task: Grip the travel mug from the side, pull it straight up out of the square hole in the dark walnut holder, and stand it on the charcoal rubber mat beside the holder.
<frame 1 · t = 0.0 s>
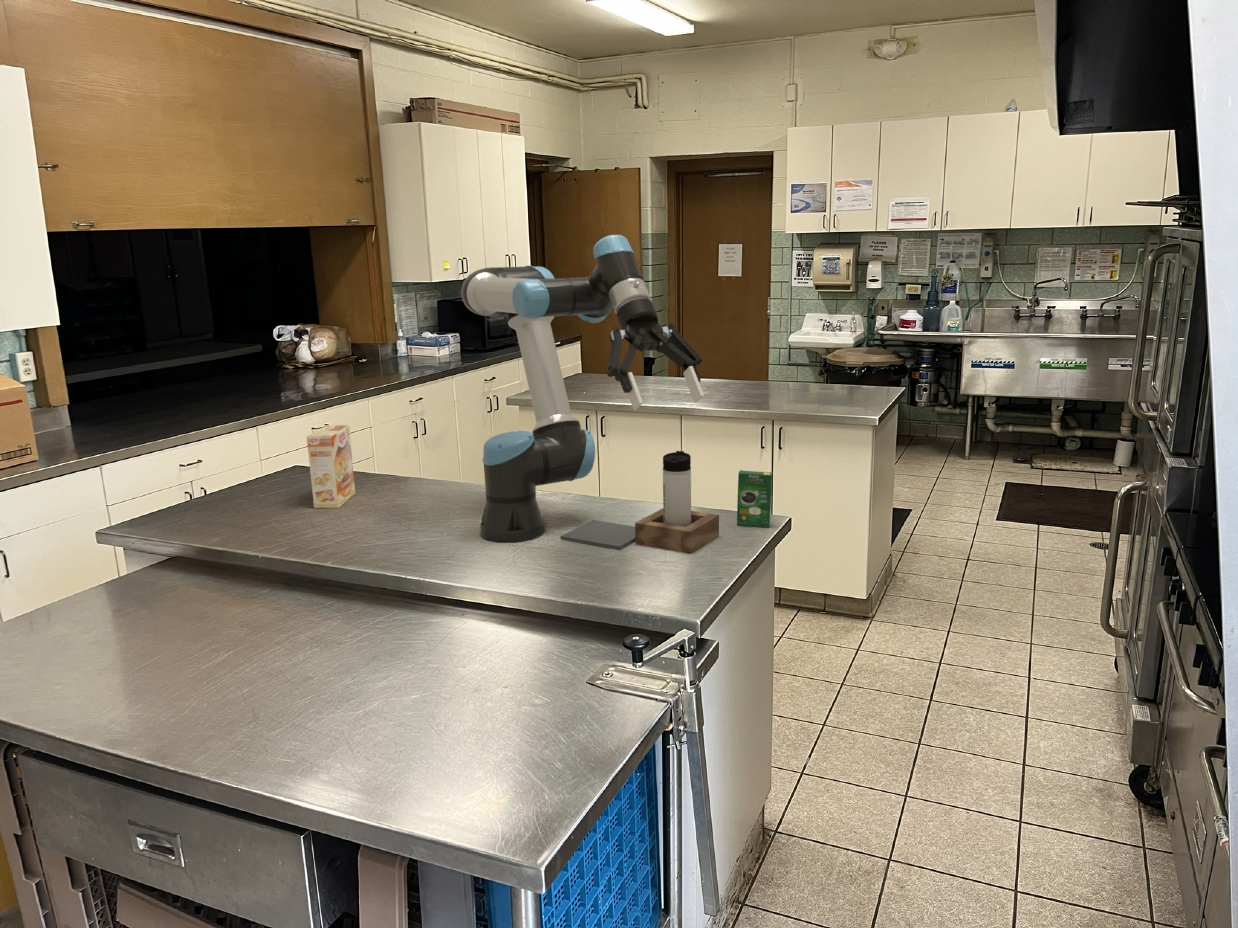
hand: (669, 403, 165), 36 cm above the counter, tool tilted 35°, fingers open, 13 cm apart
holder: (677, 539, 200), on the counter
coffee box: (754, 526, 209), on the counter
coffeecake box: (335, 501, 239), on the counter
mat: (606, 535, 204), on the counter
travel mug: (677, 540, 200), resting in holder
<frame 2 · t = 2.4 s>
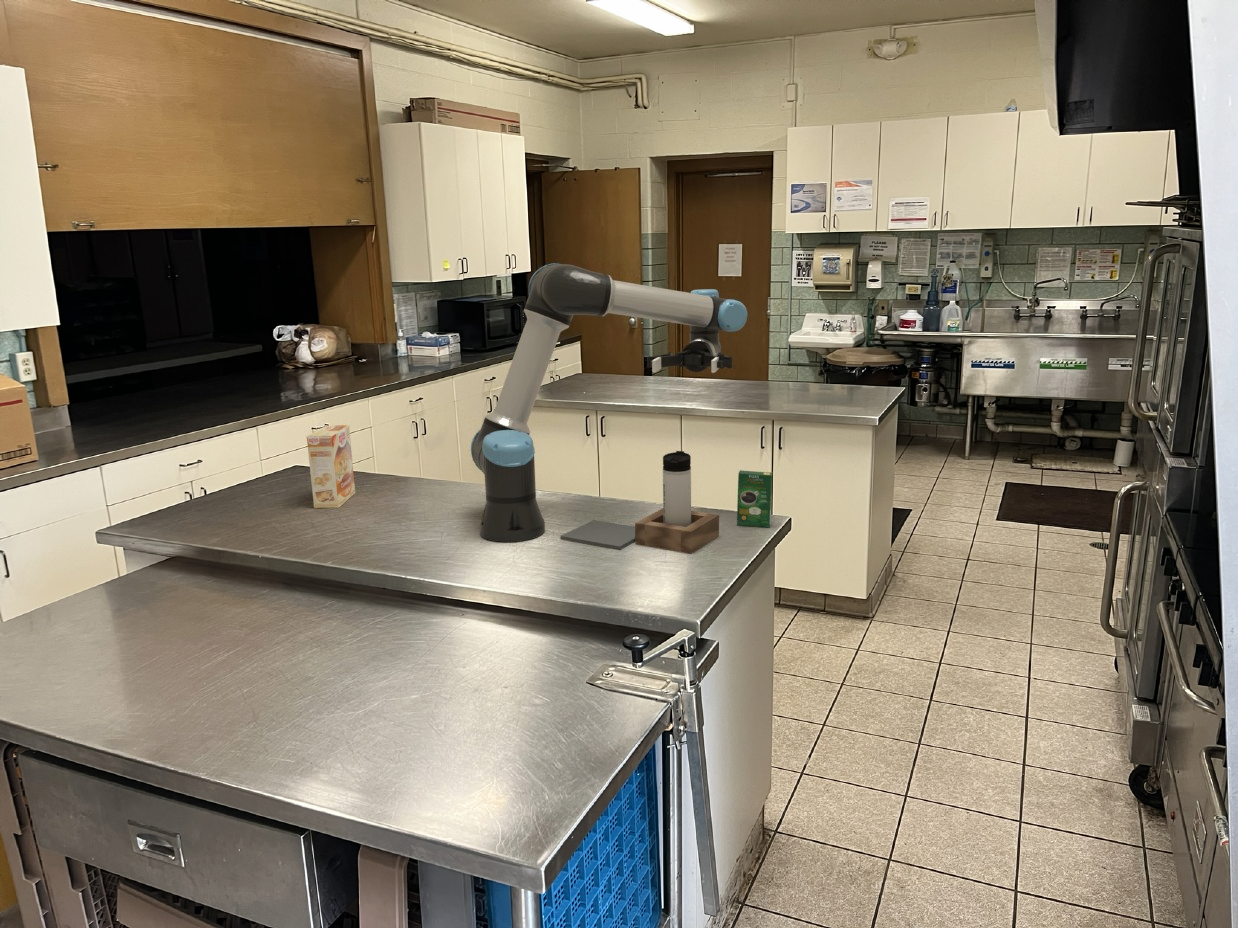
hand: (683, 366, 199), 38 cm above the counter, tool horizontal, fingers open, 13 cm apart
nothing on the counter moved.
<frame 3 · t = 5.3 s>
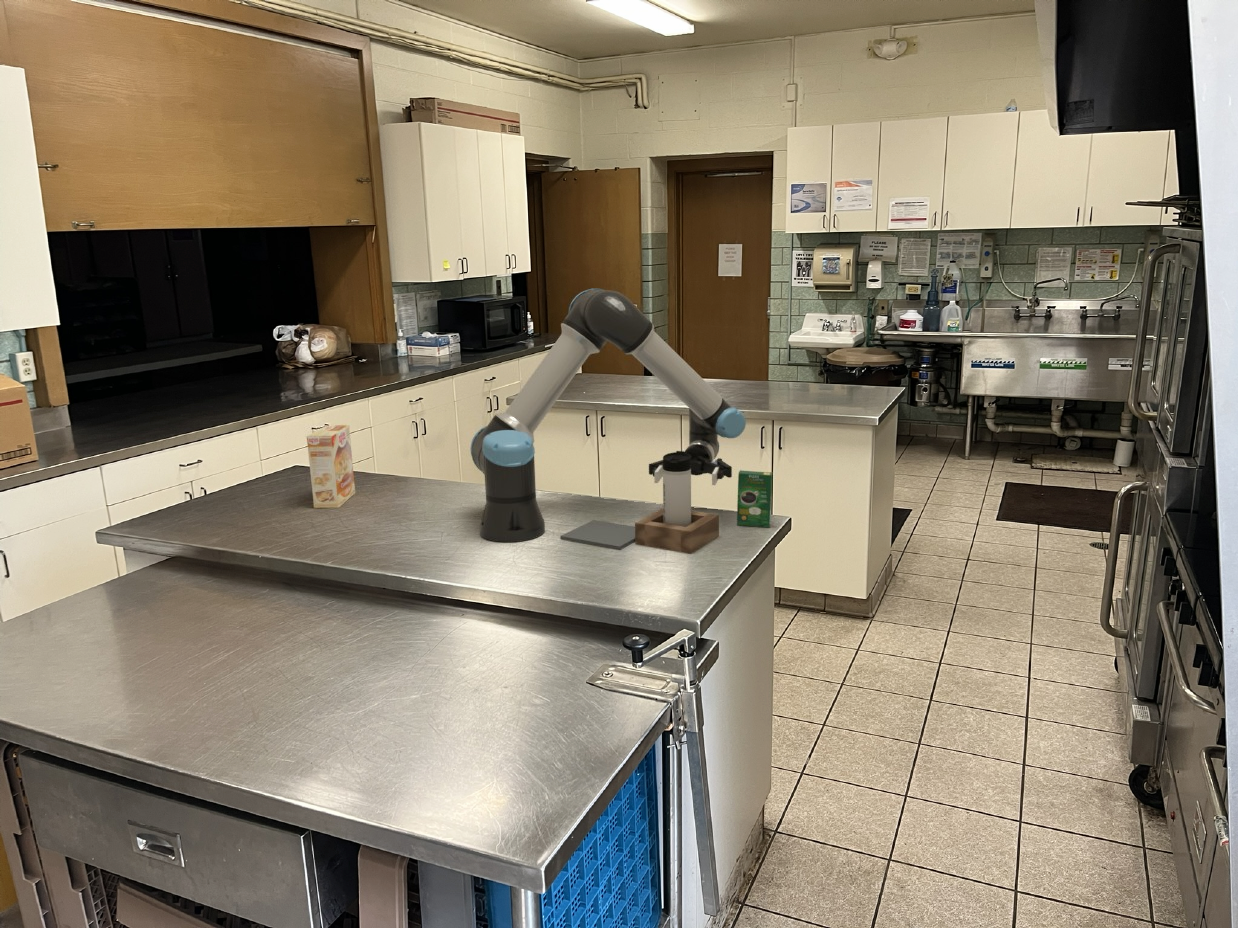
hand: (684, 478, 206), 12 cm above the counter, tool horizontal, fingers open, 13 cm apart
nothing on the counter moved.
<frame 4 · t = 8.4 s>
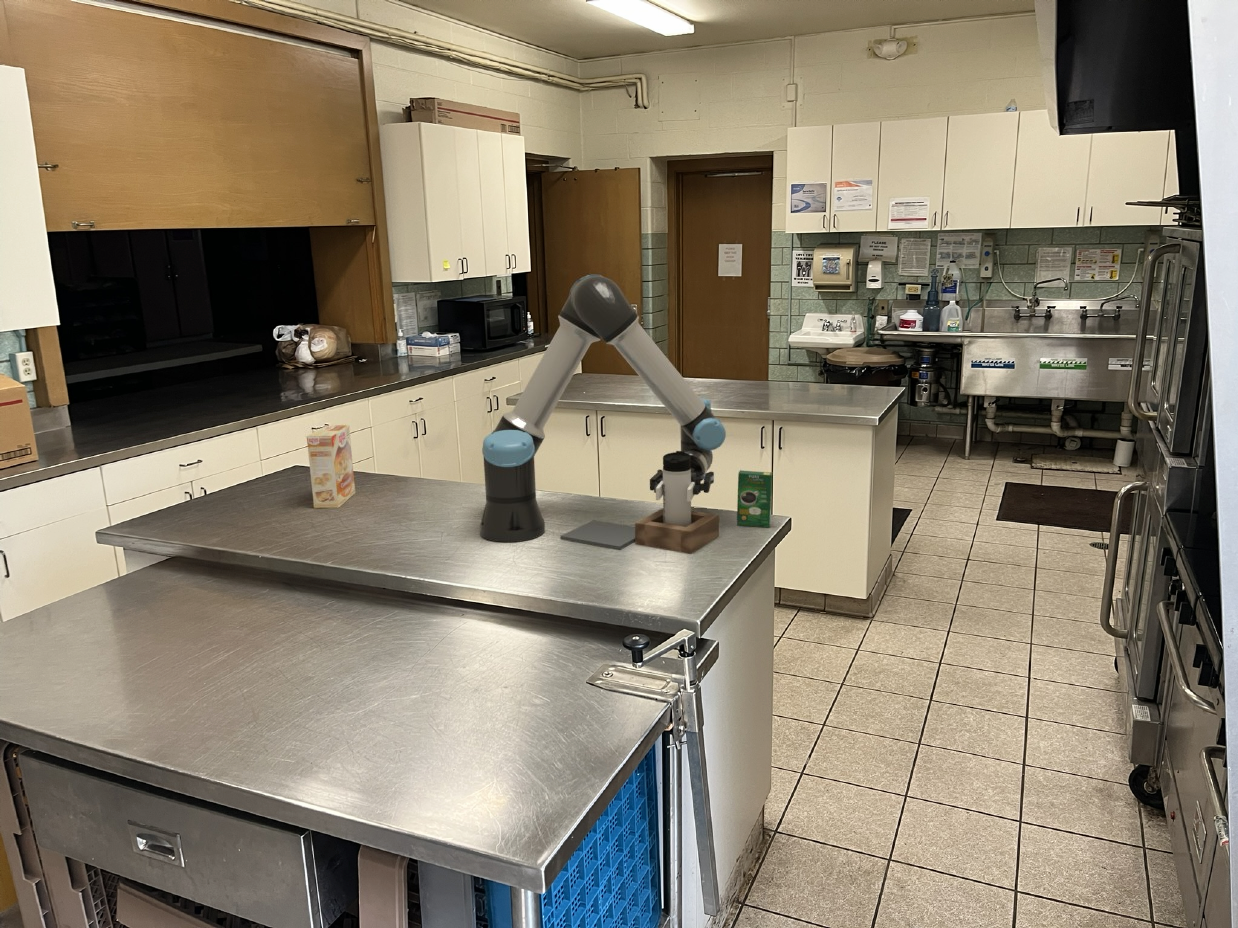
hand: (673, 494, 192), 12 cm above the counter, tool horizontal, fingers closed on travel mug, 6 cm apart
travel mug: (677, 540, 200), resting in holder, touching gripper
everything else where it was.
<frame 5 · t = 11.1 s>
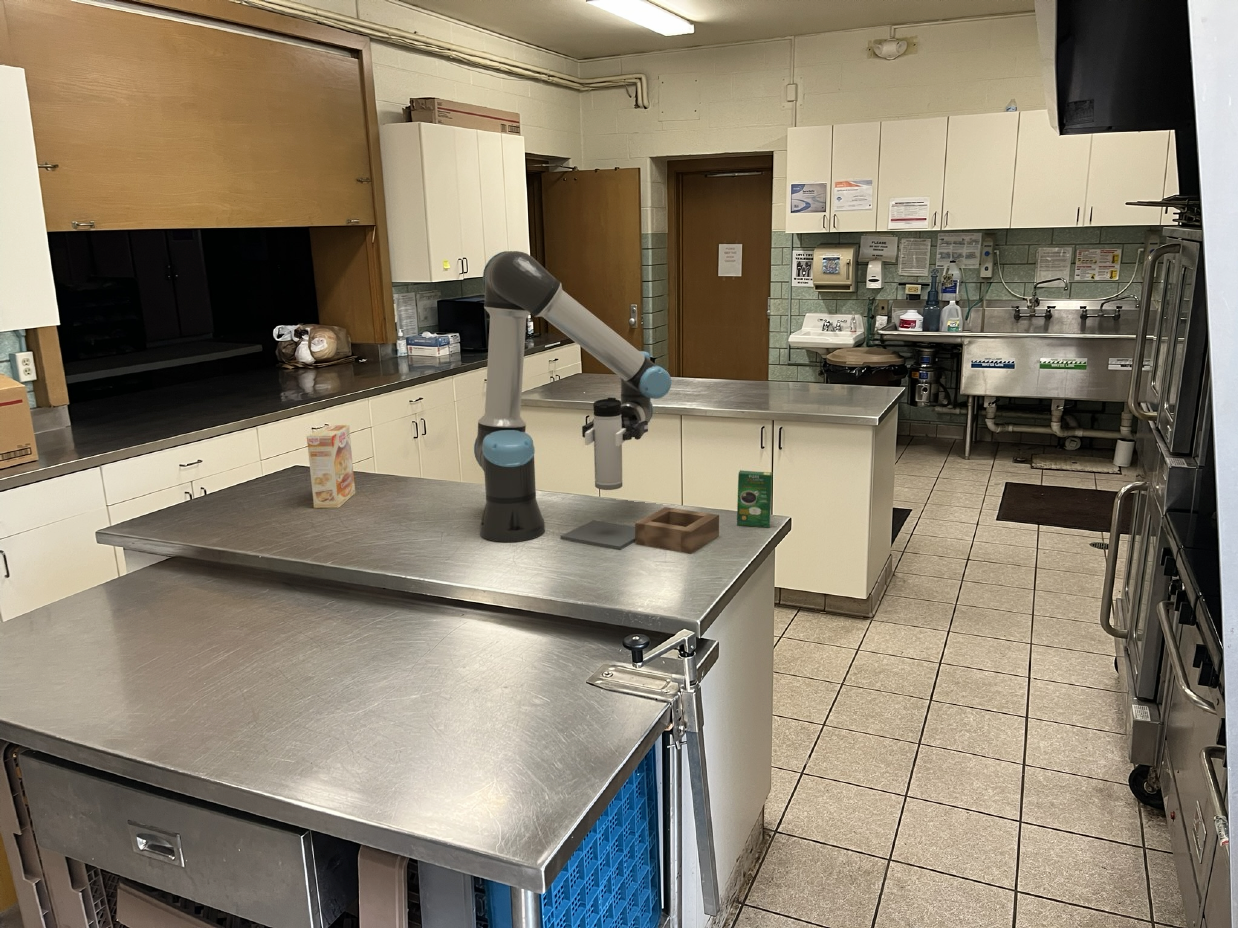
hand: (601, 439, 193), 24 cm above the counter, tool horizontal, fingers closed on travel mug, 6 cm apart
travel mug: (609, 487, 201), point 12 cm above the counter, touching gripper
everything else where it was.
when the fingers open (14 cm above the counter, at t = 13.8 s): travel mug drops 1 cm, resting on mat.
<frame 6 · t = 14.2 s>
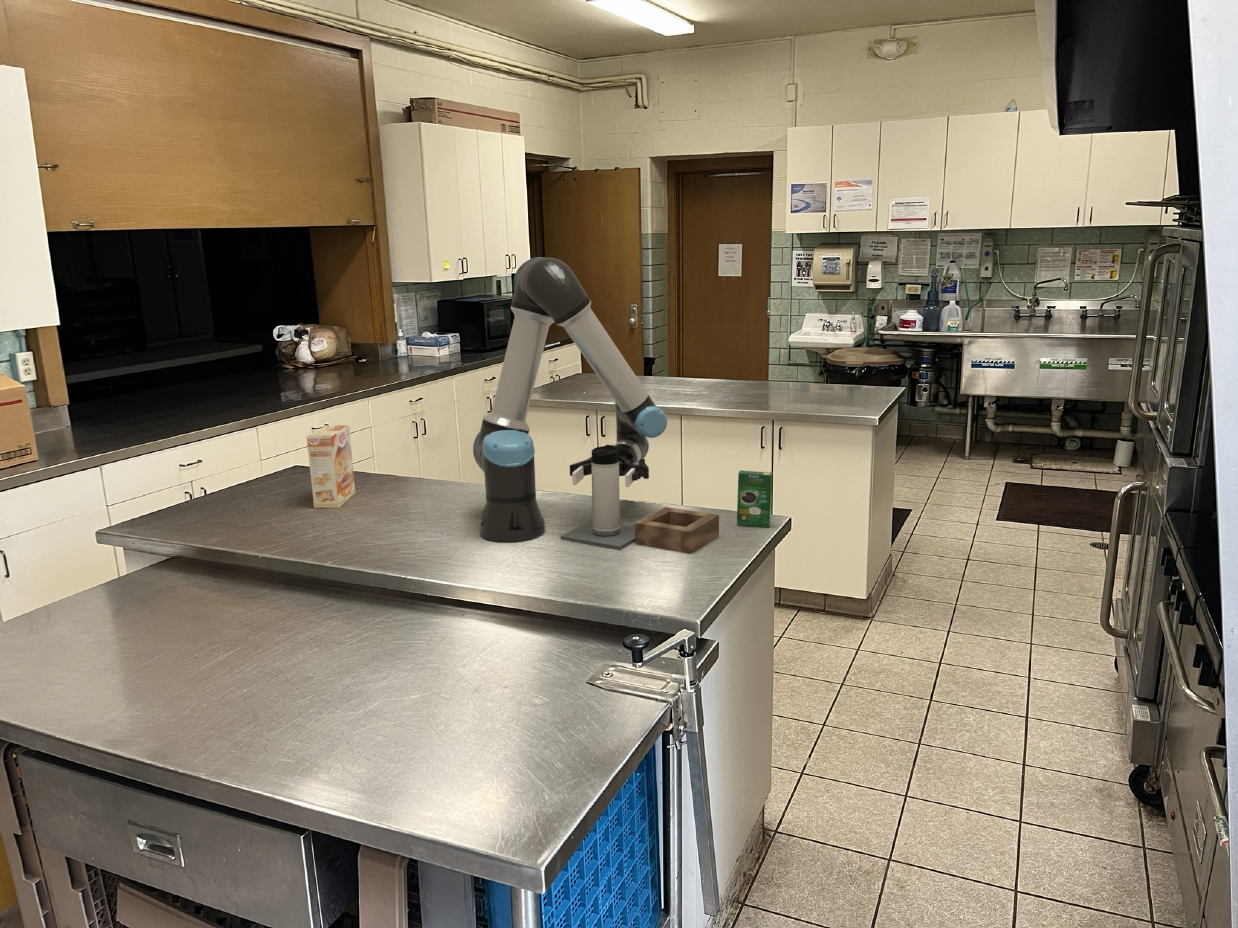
hand: (600, 480, 197), 14 cm above the counter, tool horizontal, fingers open, 11 cm apart
travel mug: (606, 532, 204), point 1 cm above the counter, touching mat
everything else where it was.
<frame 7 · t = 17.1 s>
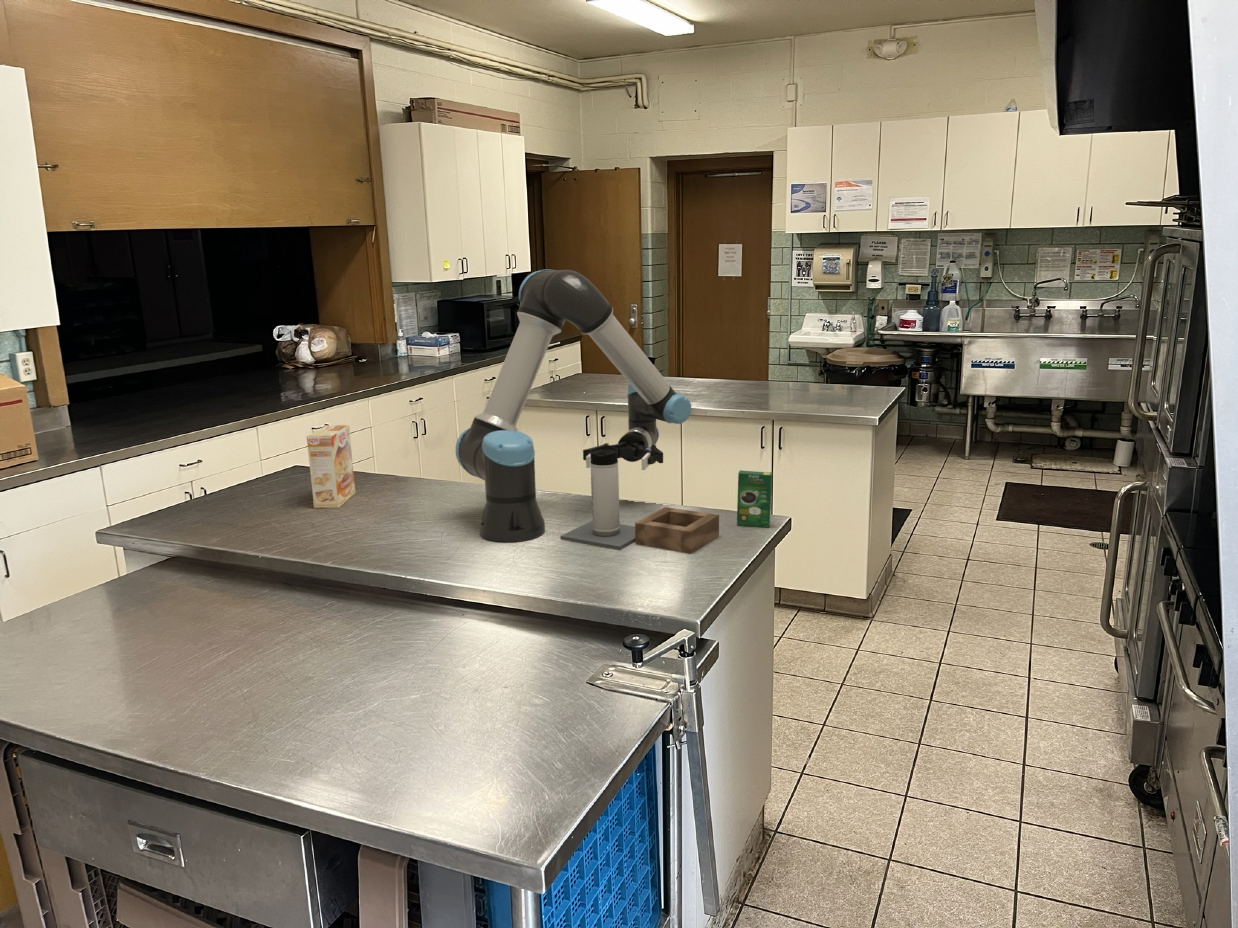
hand: (615, 463, 210), 15 cm above the counter, tool horizontal, fingers open, 13 cm apart
nothing on the counter moved.
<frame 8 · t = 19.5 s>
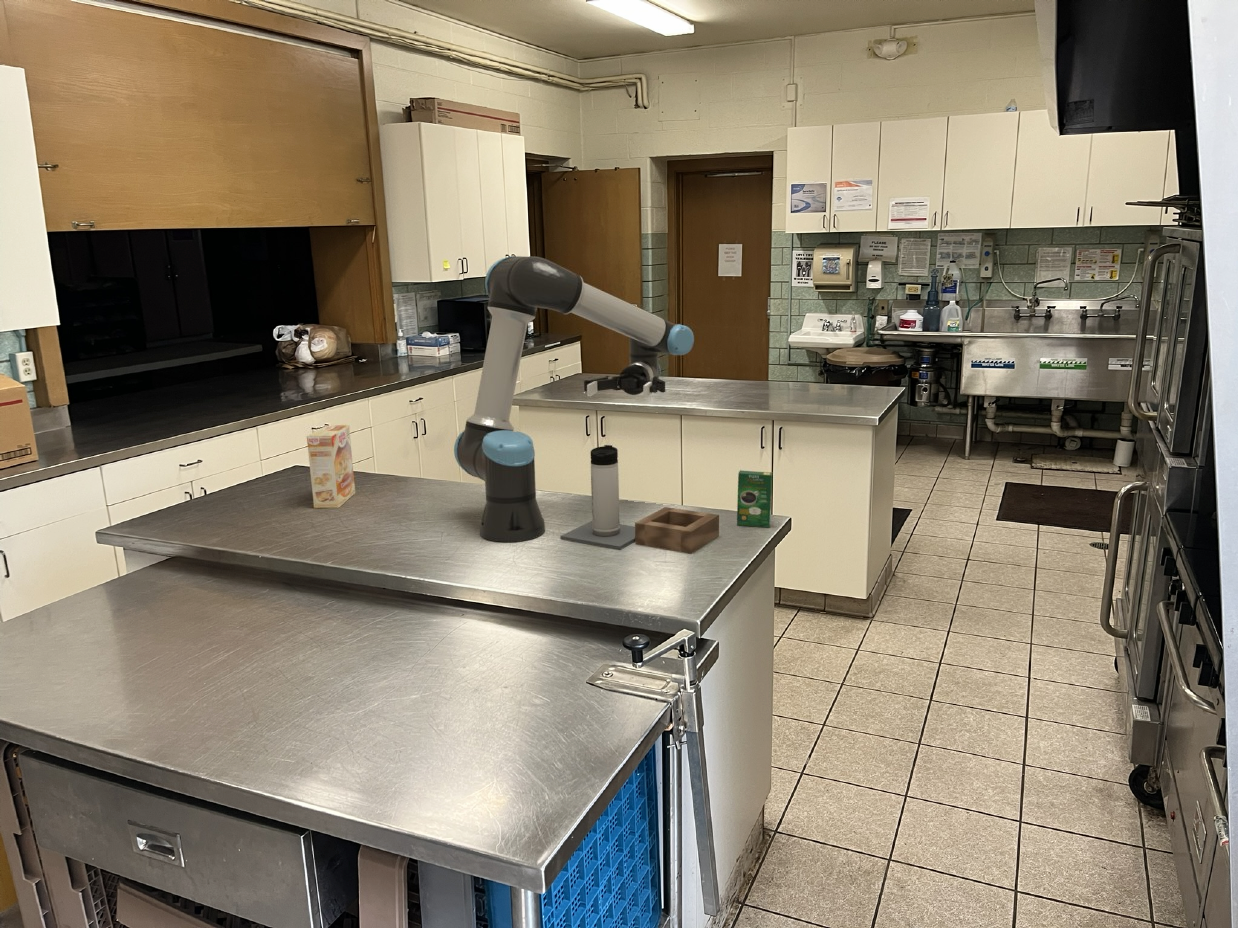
hand: (616, 391, 207), 32 cm above the counter, tool horizontal, fingers open, 13 cm apart
nothing on the counter moved.
at the end: travel mug inside the target area on the mat (0.1 cm from its centre), point 0.6 cm above the mat's base; travel mug tilted 0°; the gripper is holding nothing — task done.
